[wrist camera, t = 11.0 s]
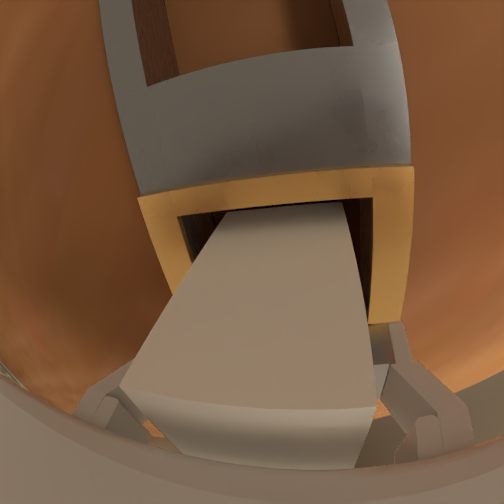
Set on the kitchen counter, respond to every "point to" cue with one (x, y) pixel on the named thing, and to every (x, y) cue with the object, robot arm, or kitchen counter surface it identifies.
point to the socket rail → (269, 136)
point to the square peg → (264, 346)
